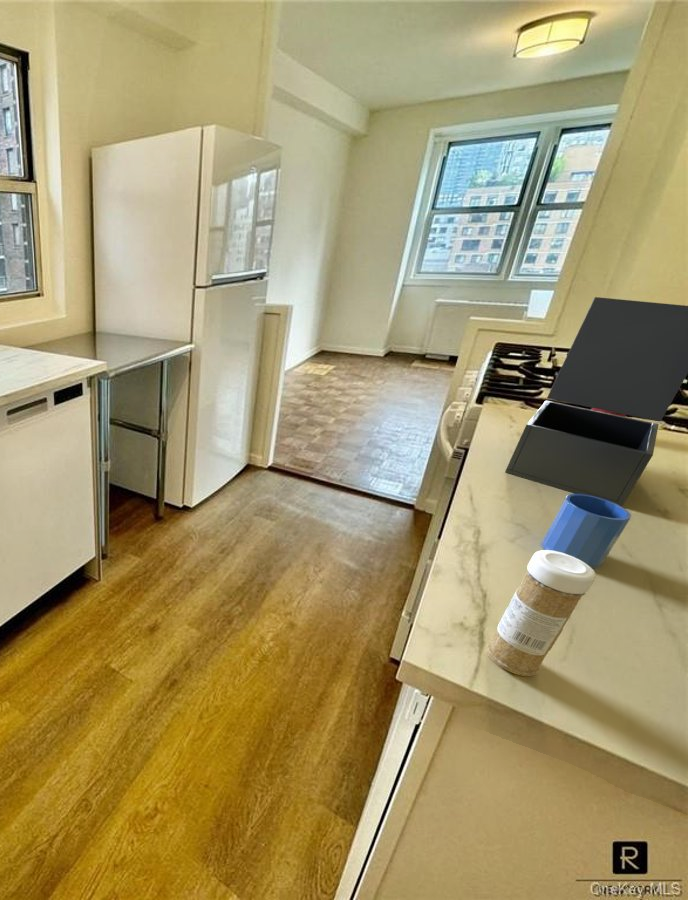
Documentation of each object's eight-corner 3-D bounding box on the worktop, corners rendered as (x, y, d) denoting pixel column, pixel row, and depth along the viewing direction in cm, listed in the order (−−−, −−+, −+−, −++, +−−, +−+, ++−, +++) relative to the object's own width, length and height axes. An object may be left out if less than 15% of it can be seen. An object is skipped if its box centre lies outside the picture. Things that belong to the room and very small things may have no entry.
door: (724, 309, 79) (723, 309, 80) (594, 297, 90) (595, 297, 90) (660, 421, 86) (660, 421, 86) (546, 398, 96) (547, 398, 97)
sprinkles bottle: (543, 664, 52) (603, 566, 46) (528, 685, 50) (590, 585, 44) (492, 636, 55) (543, 542, 49) (476, 655, 53) (527, 558, 47)
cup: (591, 547, 70) (619, 501, 66) (609, 573, 65) (640, 525, 61) (536, 534, 73) (559, 489, 69) (548, 559, 68) (574, 511, 64)
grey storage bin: (621, 507, 80) (653, 454, 75) (504, 472, 90) (526, 424, 86) (630, 471, 91) (658, 423, 86) (525, 444, 101) (545, 400, 97)
